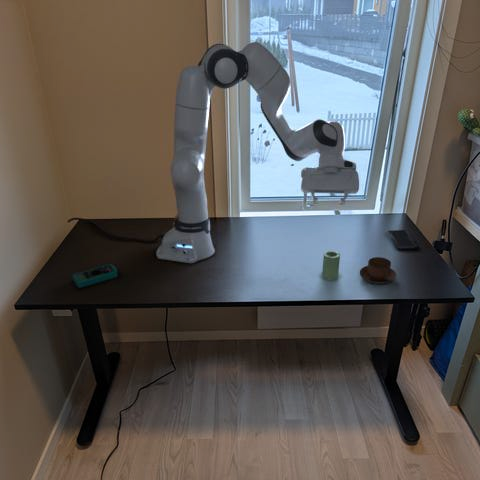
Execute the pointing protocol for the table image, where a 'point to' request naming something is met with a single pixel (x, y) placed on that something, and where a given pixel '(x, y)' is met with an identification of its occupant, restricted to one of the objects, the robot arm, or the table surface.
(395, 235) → the phone
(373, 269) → the cup and saucer
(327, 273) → the green cylindrical container
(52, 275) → the table surface
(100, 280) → the digital multimeter
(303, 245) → the table surface
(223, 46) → the robot arm
